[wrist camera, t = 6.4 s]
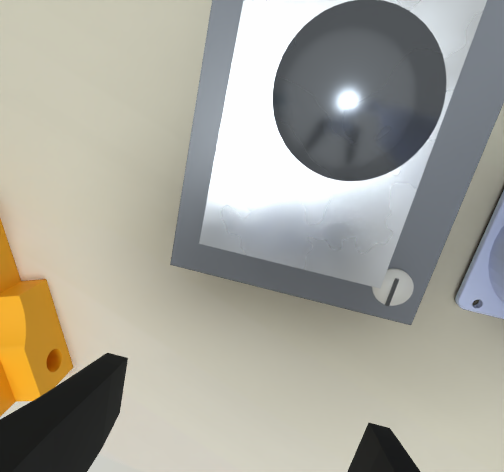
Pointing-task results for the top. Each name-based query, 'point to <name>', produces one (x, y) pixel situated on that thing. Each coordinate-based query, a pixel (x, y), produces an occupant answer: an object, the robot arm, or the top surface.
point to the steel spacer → (359, 90)
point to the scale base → (422, 208)
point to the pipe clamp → (27, 335)
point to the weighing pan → (296, 174)
